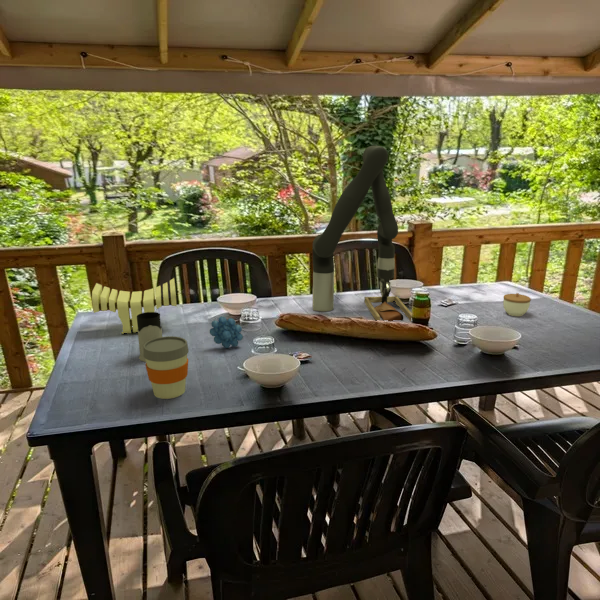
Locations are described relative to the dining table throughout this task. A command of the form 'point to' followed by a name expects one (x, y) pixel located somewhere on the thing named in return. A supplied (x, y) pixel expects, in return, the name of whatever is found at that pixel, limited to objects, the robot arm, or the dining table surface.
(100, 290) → the slatted curved stool
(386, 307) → the sunglasses case
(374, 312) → the yellowish flat rectangular frame
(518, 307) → the lidded jar
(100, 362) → the dining table surface
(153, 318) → the glass holder
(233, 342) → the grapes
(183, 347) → the reusable coffee cup
